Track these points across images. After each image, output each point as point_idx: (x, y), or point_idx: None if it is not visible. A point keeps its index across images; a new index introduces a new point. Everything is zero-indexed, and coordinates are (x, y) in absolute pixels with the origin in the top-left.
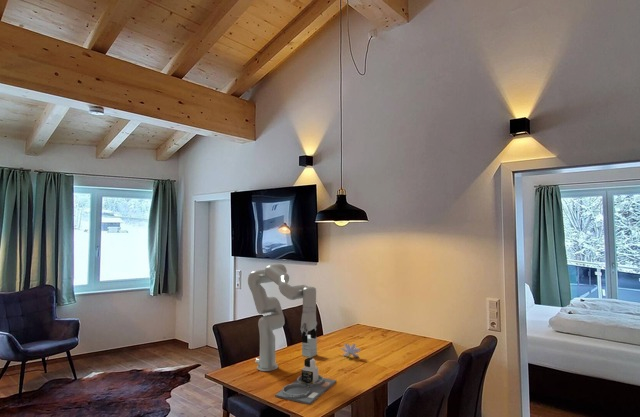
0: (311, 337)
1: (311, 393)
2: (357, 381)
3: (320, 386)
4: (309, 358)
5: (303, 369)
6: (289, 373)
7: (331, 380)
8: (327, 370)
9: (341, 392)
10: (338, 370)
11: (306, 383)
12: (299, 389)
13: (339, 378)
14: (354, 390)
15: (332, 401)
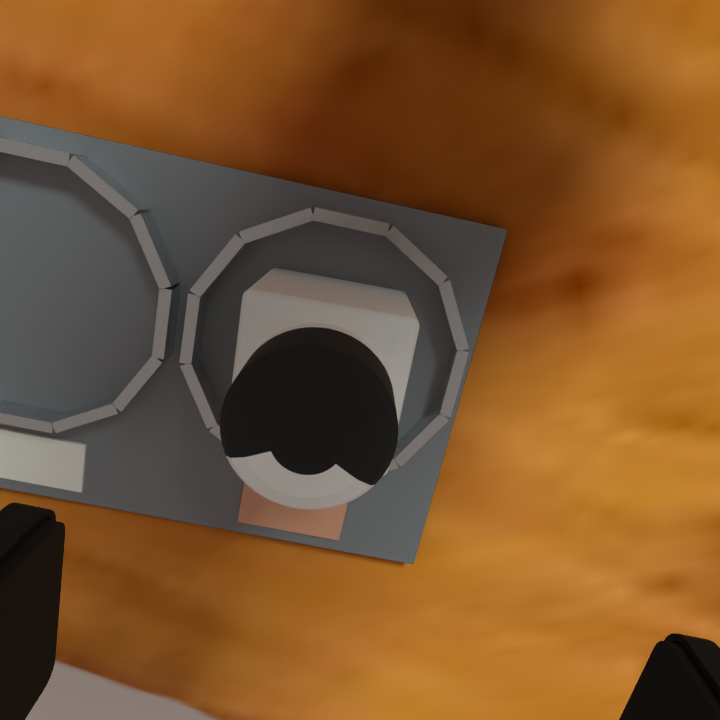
0: (654, 674)
1: (63, 433)
2: (467, 698)
3: None
4: (332, 427)
5: (243, 322)
6: (561, 11)
7: (401, 529)
8: (701, 421)
9: (219, 627)
10: (709, 520)
11: (189, 353)
12: (104, 301)
13: (505, 563)
14: (285, 701)
15: None
